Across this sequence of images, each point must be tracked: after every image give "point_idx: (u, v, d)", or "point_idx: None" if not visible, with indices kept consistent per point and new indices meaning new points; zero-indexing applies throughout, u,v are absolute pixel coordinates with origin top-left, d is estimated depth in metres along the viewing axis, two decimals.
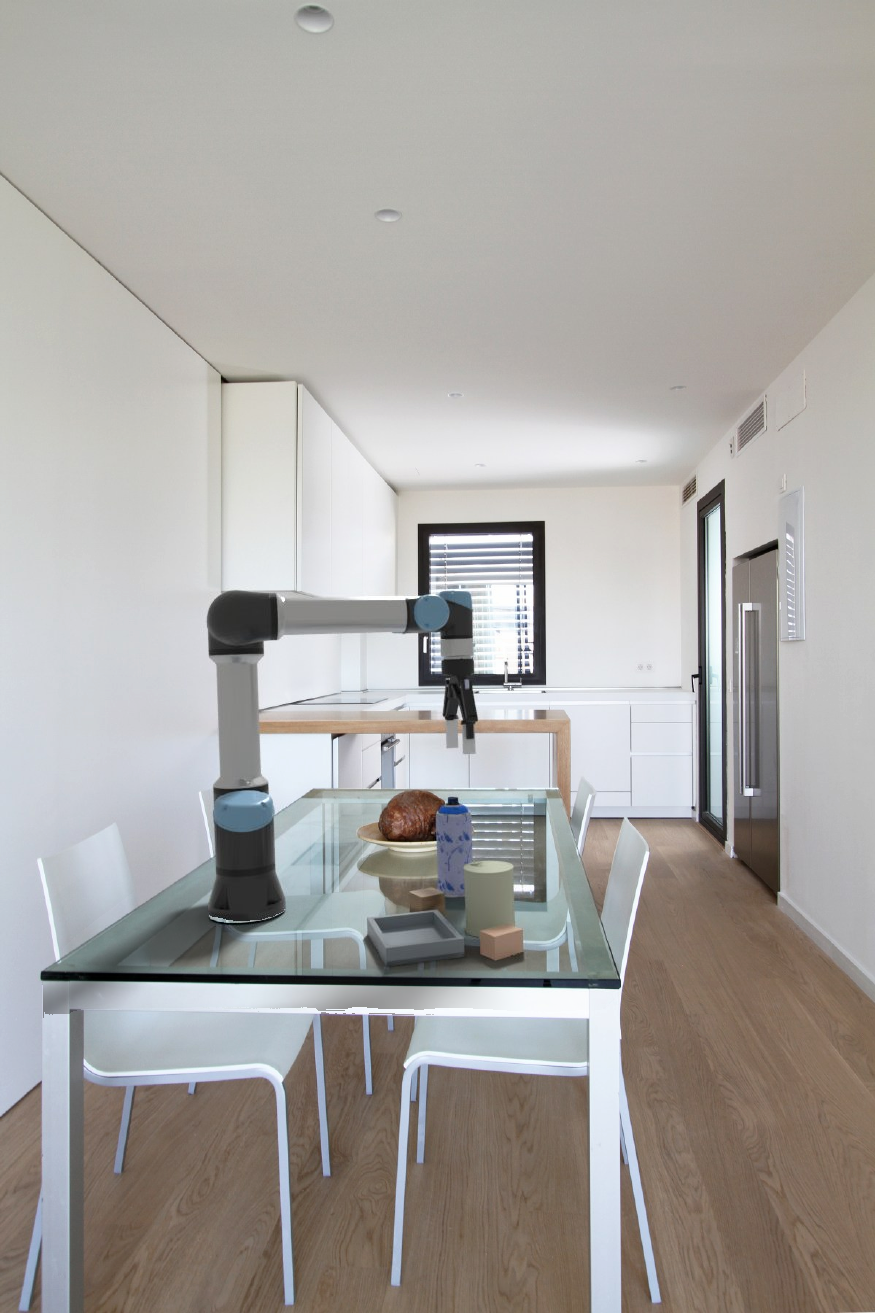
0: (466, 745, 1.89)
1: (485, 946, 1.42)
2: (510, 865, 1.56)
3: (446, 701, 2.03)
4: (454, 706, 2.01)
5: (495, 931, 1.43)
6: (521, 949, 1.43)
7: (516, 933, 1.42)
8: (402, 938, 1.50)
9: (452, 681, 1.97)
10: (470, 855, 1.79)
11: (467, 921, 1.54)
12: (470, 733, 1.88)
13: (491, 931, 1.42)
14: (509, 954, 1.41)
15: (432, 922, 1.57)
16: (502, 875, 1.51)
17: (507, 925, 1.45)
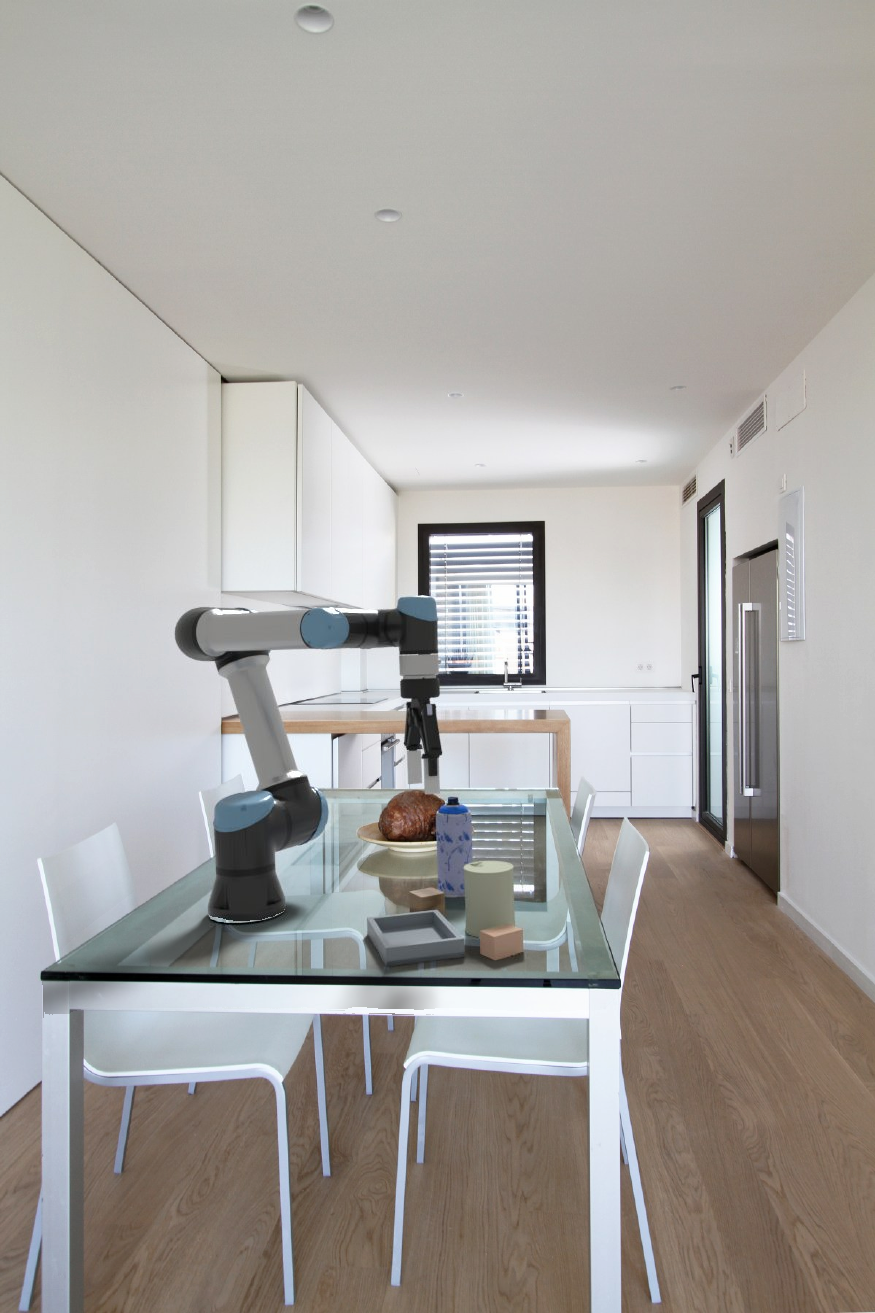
0: (428, 783, 1.56)
1: (485, 946, 1.42)
2: (510, 865, 1.56)
3: (408, 728, 1.70)
4: (417, 734, 1.68)
5: (495, 931, 1.43)
6: (521, 949, 1.43)
7: (516, 934, 1.42)
8: (402, 938, 1.50)
9: (413, 705, 1.64)
10: (470, 855, 1.79)
11: (467, 921, 1.54)
12: (433, 769, 1.55)
13: (490, 931, 1.42)
14: (509, 954, 1.41)
15: (432, 922, 1.57)
16: (502, 875, 1.51)
17: (507, 925, 1.45)
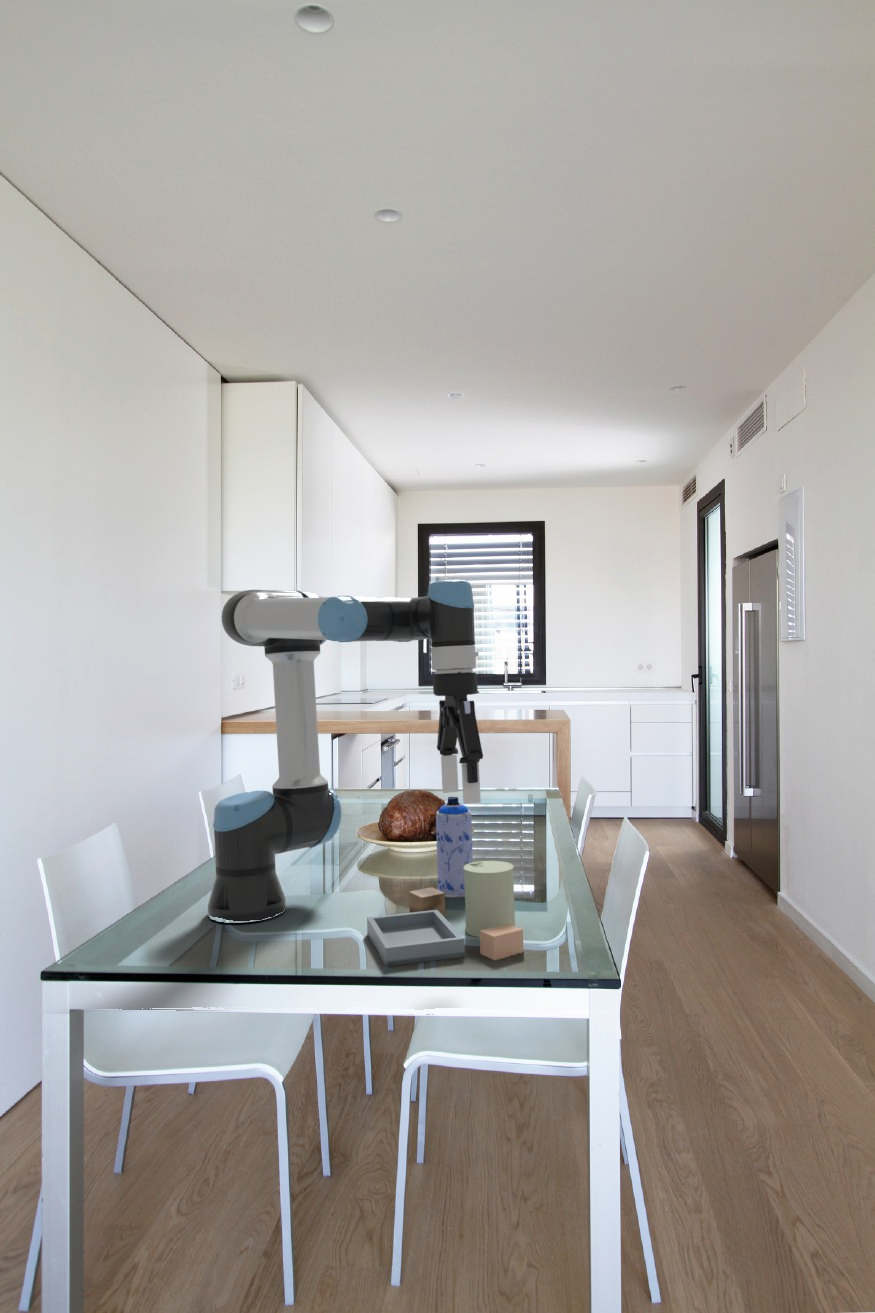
0: (467, 791, 1.38)
1: (485, 946, 1.42)
2: (510, 865, 1.56)
3: (441, 730, 1.52)
4: (452, 736, 1.49)
5: (495, 931, 1.43)
6: (521, 949, 1.43)
7: (516, 934, 1.42)
8: (402, 938, 1.50)
9: (448, 703, 1.46)
10: (470, 855, 1.79)
11: (467, 921, 1.54)
12: (473, 775, 1.37)
13: (491, 931, 1.42)
14: (509, 954, 1.41)
15: (432, 922, 1.57)
16: (502, 875, 1.51)
17: (508, 925, 1.45)
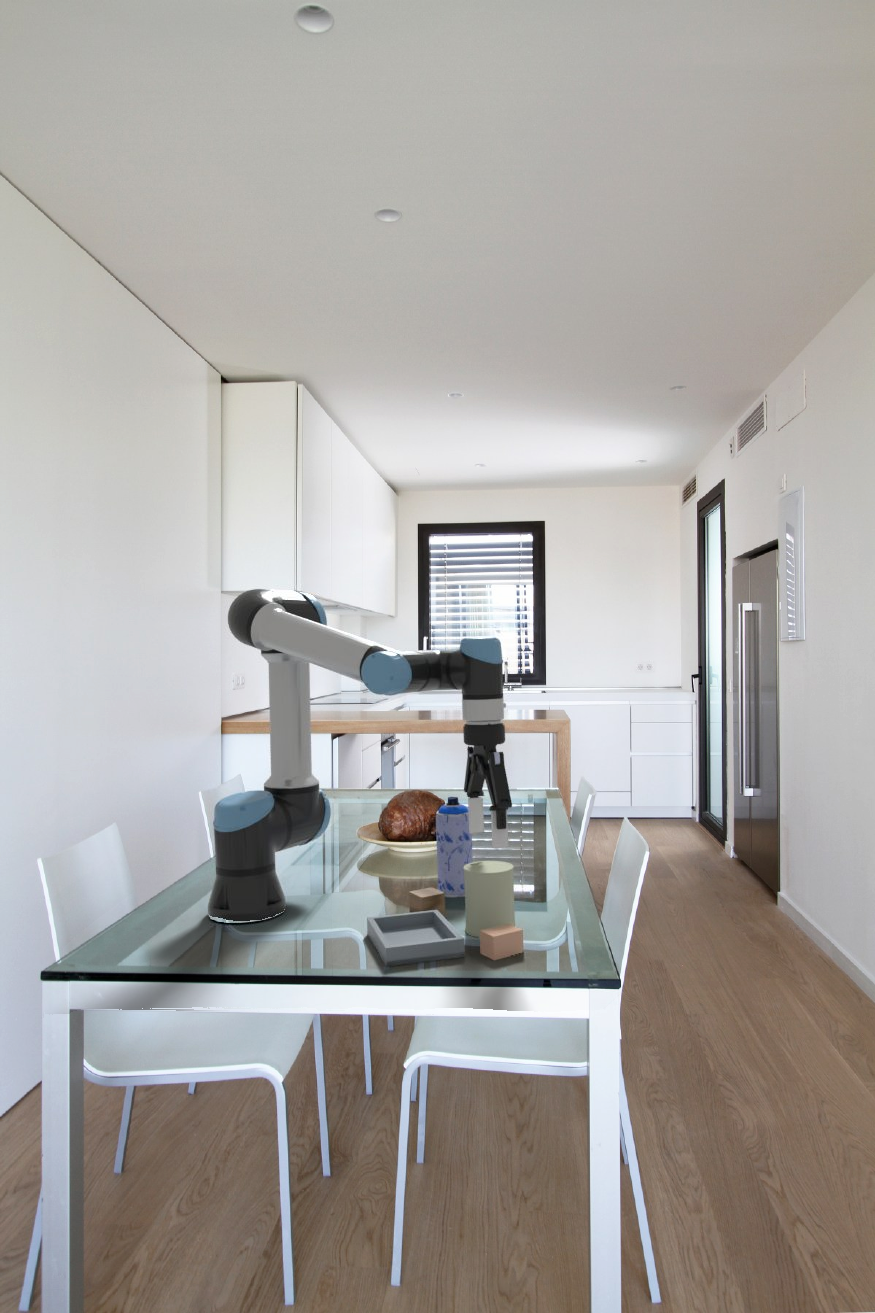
0: (496, 837, 1.48)
1: (485, 946, 1.42)
2: (510, 865, 1.56)
3: (469, 774, 1.62)
4: (479, 781, 1.60)
5: (495, 931, 1.43)
6: (521, 949, 1.43)
7: (516, 934, 1.42)
8: (402, 938, 1.50)
9: (477, 751, 1.56)
10: (470, 855, 1.79)
11: (467, 921, 1.54)
12: (502, 822, 1.47)
13: (490, 931, 1.43)
14: (508, 954, 1.41)
15: (432, 922, 1.57)
16: (502, 875, 1.51)
17: (508, 925, 1.45)
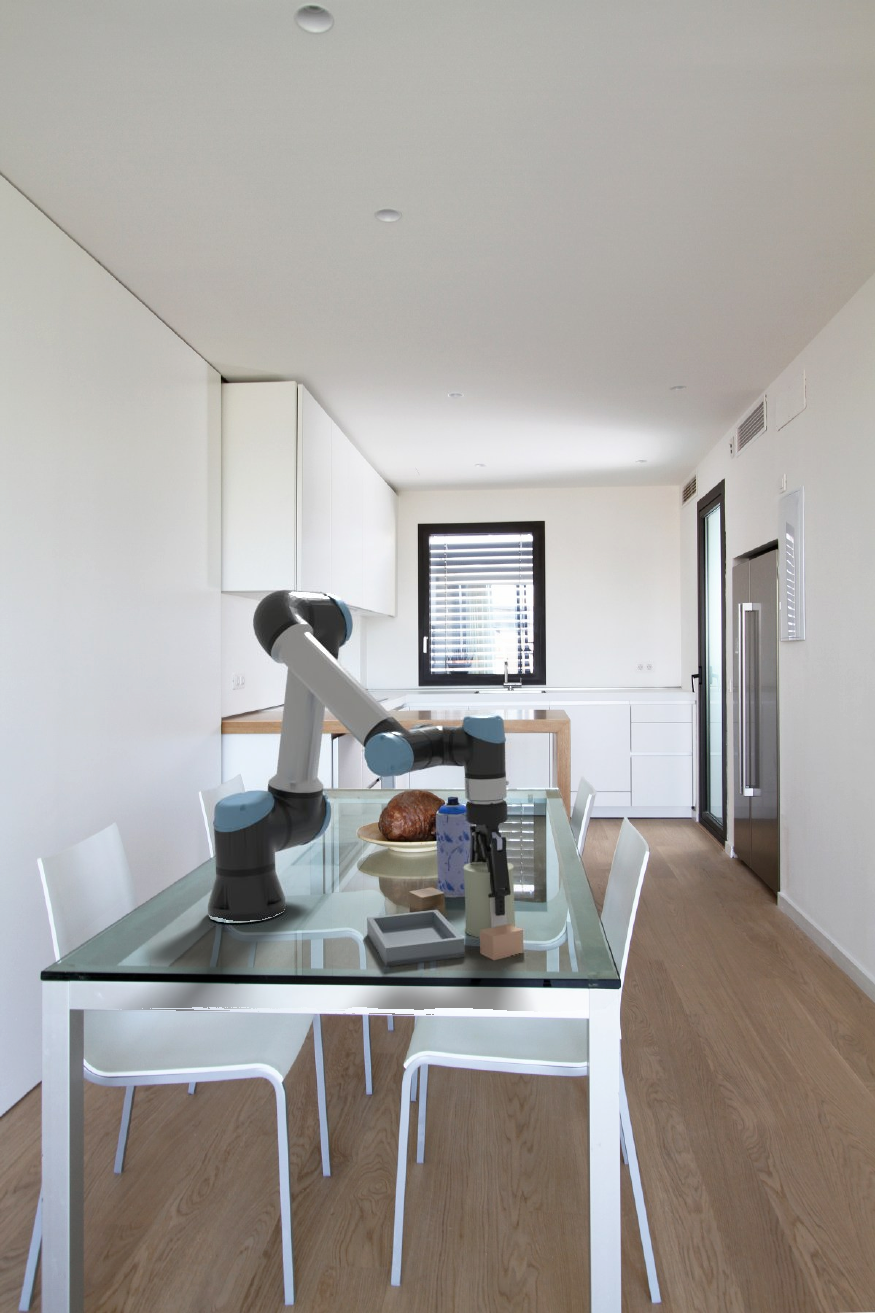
0: (495, 922, 1.50)
1: (484, 946, 1.42)
2: (510, 865, 1.56)
3: (473, 854, 1.61)
4: (483, 862, 1.59)
5: (495, 931, 1.43)
6: (521, 950, 1.43)
7: (516, 934, 1.42)
8: (402, 938, 1.50)
9: (479, 826, 1.56)
10: None
11: (467, 921, 1.54)
12: (500, 908, 1.49)
13: (490, 931, 1.43)
14: (508, 954, 1.41)
15: (432, 922, 1.57)
16: None
17: (508, 925, 1.45)
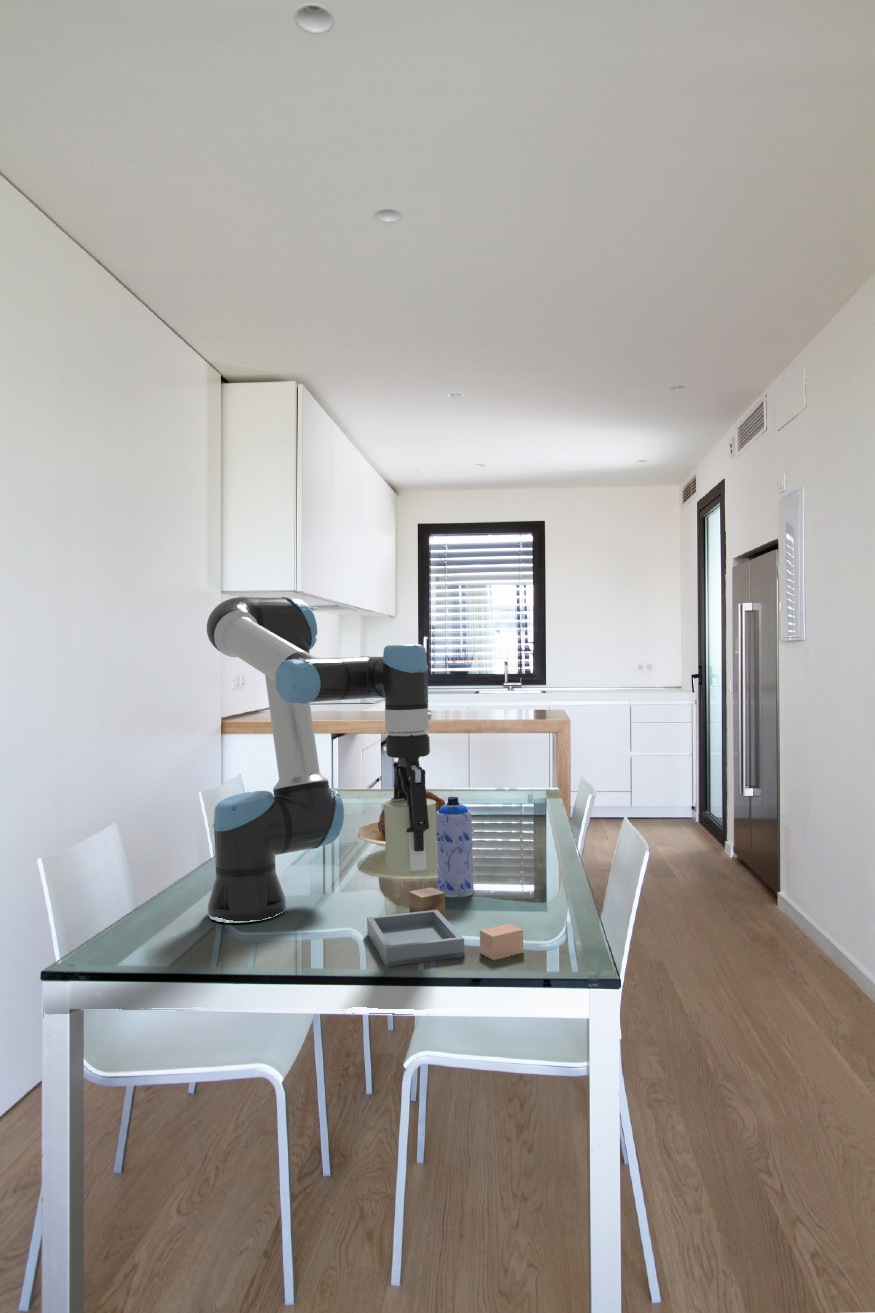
0: (413, 859, 1.43)
1: (484, 946, 1.42)
2: (433, 801, 1.49)
3: (396, 792, 1.54)
4: (406, 799, 1.52)
5: (495, 931, 1.43)
6: (521, 950, 1.43)
7: (516, 934, 1.42)
8: (402, 938, 1.50)
9: (400, 760, 1.49)
10: (470, 855, 1.79)
11: (386, 859, 1.47)
12: (419, 844, 1.42)
13: (490, 931, 1.43)
14: (508, 954, 1.41)
15: (432, 922, 1.57)
16: None
17: (508, 925, 1.45)
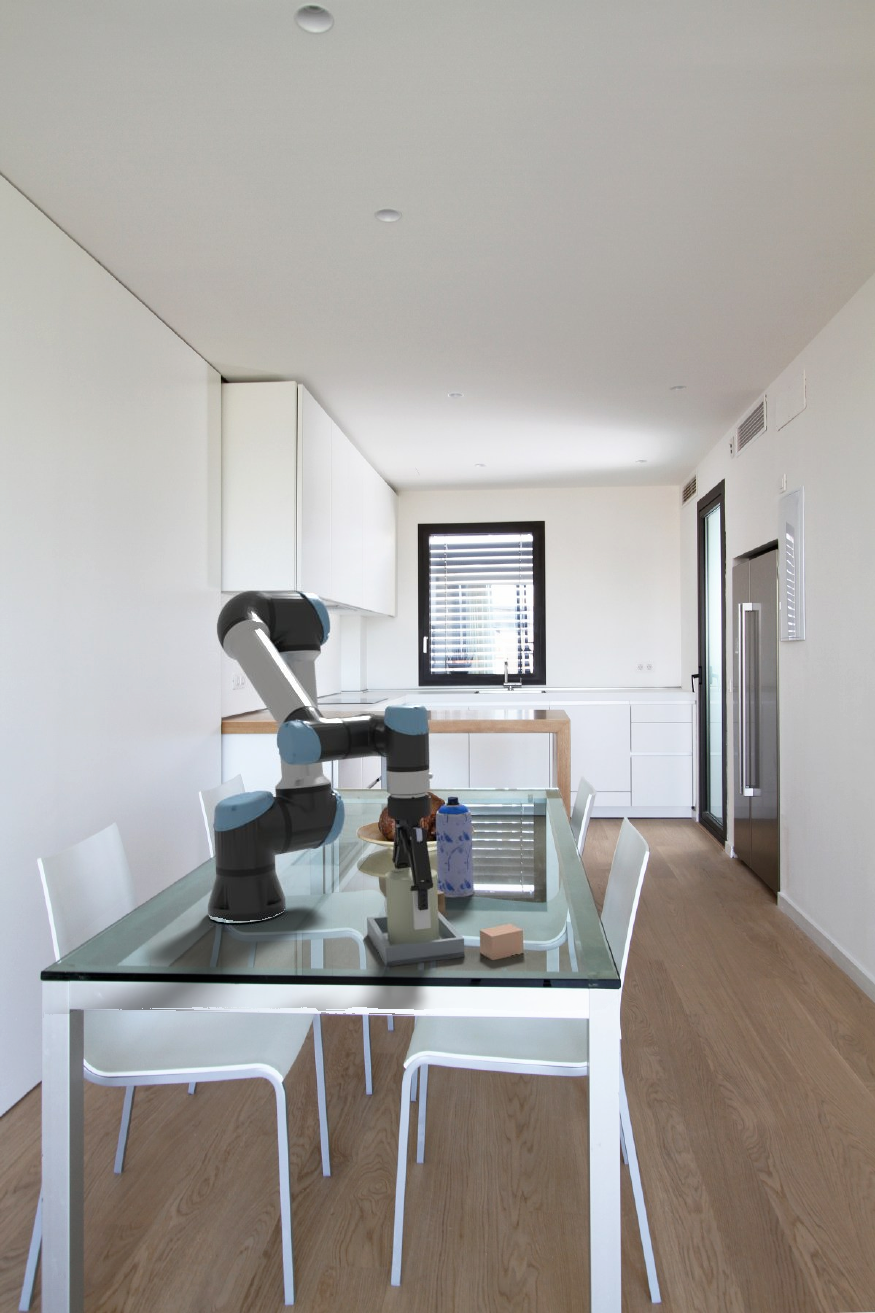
0: (417, 918, 1.41)
1: (484, 946, 1.42)
2: (434, 872, 1.49)
3: (396, 844, 1.55)
4: (406, 853, 1.53)
5: (495, 931, 1.43)
6: (521, 950, 1.43)
7: (516, 934, 1.42)
8: None
9: (402, 824, 1.49)
10: (470, 855, 1.79)
11: (388, 931, 1.47)
12: (423, 902, 1.40)
13: (490, 931, 1.43)
14: (508, 954, 1.41)
15: None
16: None
17: (509, 925, 1.45)
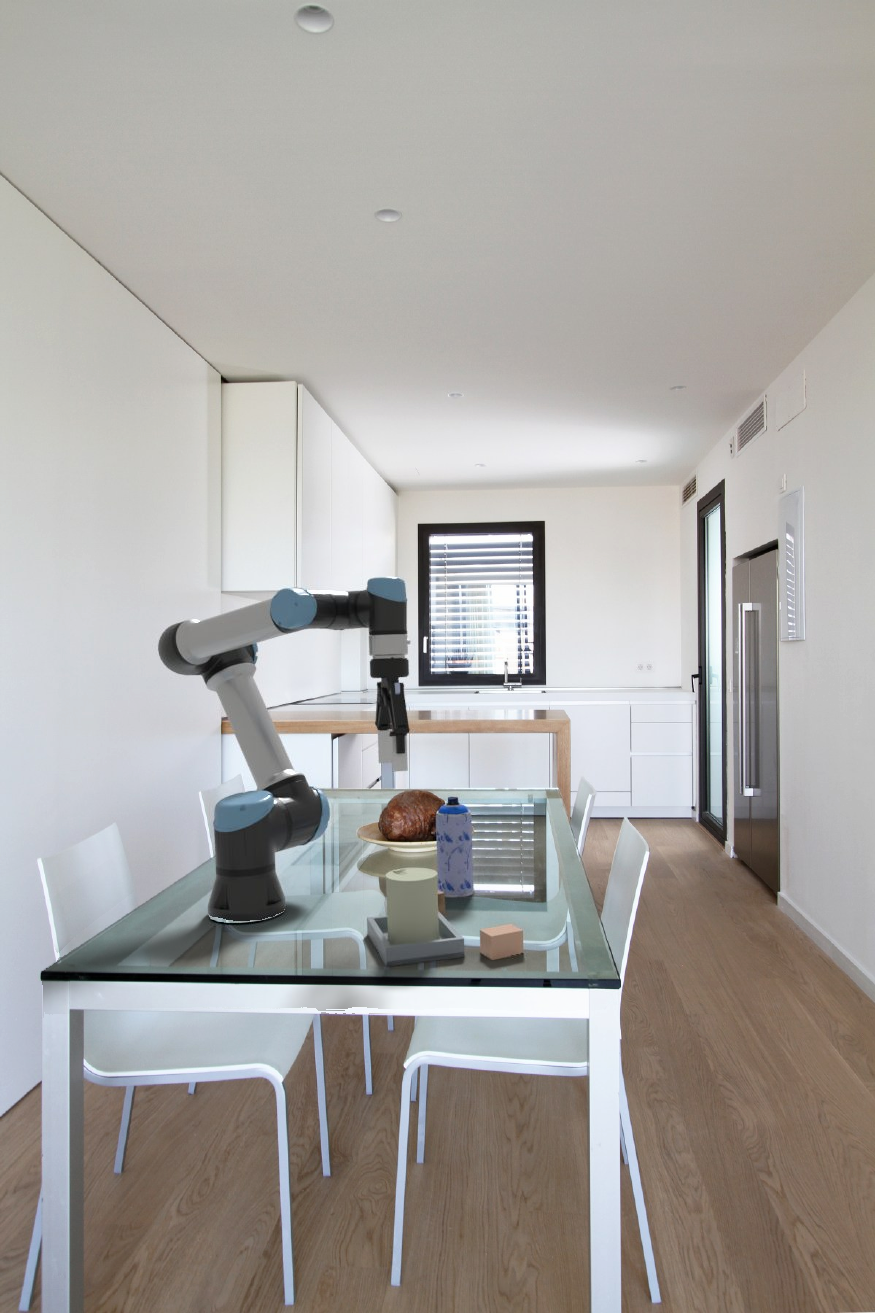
0: (396, 761, 1.59)
1: (484, 945, 1.42)
2: (434, 872, 1.49)
3: (378, 708, 1.73)
4: (387, 714, 1.71)
5: (495, 931, 1.43)
6: (521, 950, 1.42)
7: (516, 934, 1.42)
8: None
9: (383, 684, 1.67)
10: (470, 855, 1.79)
11: (388, 931, 1.47)
12: (400, 747, 1.58)
13: (490, 931, 1.43)
14: (507, 954, 1.41)
15: None
16: (423, 883, 1.44)
17: (509, 925, 1.45)
